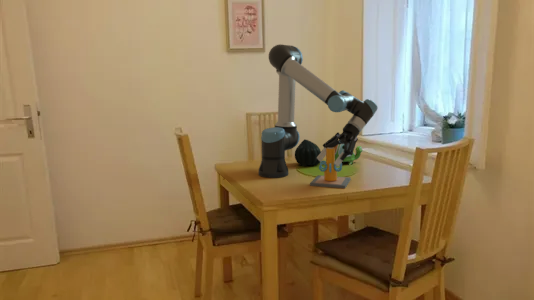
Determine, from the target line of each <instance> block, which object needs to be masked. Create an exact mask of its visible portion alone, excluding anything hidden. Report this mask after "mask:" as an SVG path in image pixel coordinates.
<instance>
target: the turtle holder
mask: <svg viewBox="0 0 534 300" xmlns="http://www.w3.org/2000/svg"><path fill="white" fill-rule="evenodd" d="M333 148H335V161H336V159H337V158H338V157H339V155H340V154H341V153H342V152H343V151H344V144H338V145H336V146H335V147H333ZM350 151H351V150H350ZM362 152H363V148H362V146H361V145H358V146H356V147H355V150H354V151H353V154H352V155H348V156H347V157H346V158H345V159H344V160H343V161H342V162H343V163H344V162H345V163H346V162H348V165H349V164H351V165H353V162H354V161H357V160H359V158H360V157H361V154H362ZM342 162H341V163H342Z"/></svg>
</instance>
